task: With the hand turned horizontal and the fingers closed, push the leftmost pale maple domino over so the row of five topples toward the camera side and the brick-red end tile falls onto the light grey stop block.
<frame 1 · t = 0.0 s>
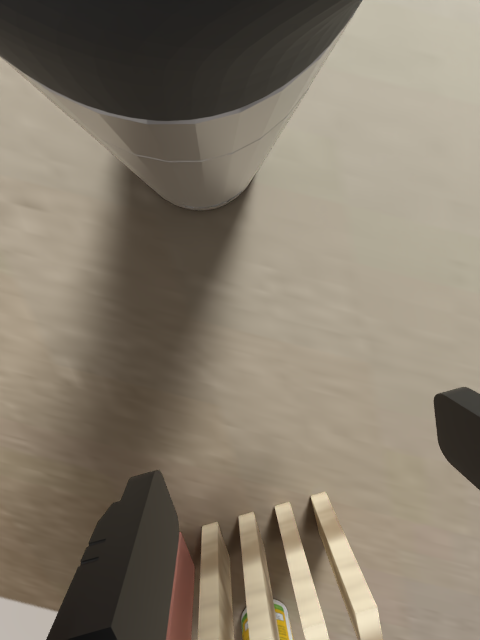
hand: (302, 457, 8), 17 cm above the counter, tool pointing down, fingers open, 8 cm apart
supplement bottle: (263, 611, 34), on the counter
domino 1: (322, 512, 31), on the counter
domino 4: (216, 542, 31), on the counter
domino 3: (251, 532, 31), on the counter
domino 2: (286, 522, 31), on the counter
domino 5: (180, 552, 31), on the counter
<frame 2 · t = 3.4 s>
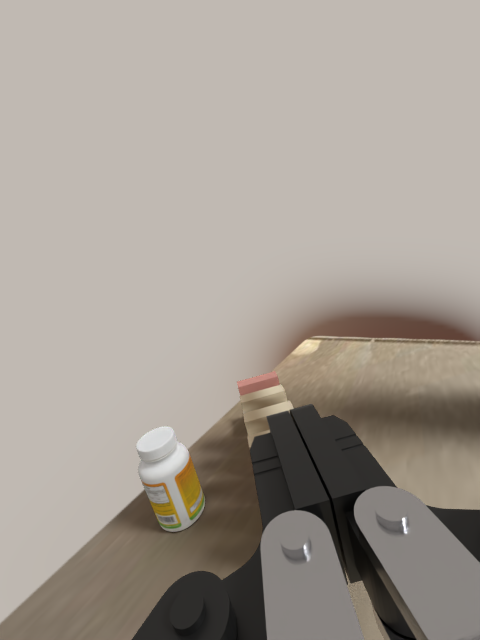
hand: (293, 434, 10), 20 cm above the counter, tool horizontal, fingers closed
supplement bottle: (183, 512, 33), on the counter
domino 4: (281, 465, 36), on the counter
domino 3: (288, 490, 32), on the counter
domino 5: (274, 445, 40), on the counter
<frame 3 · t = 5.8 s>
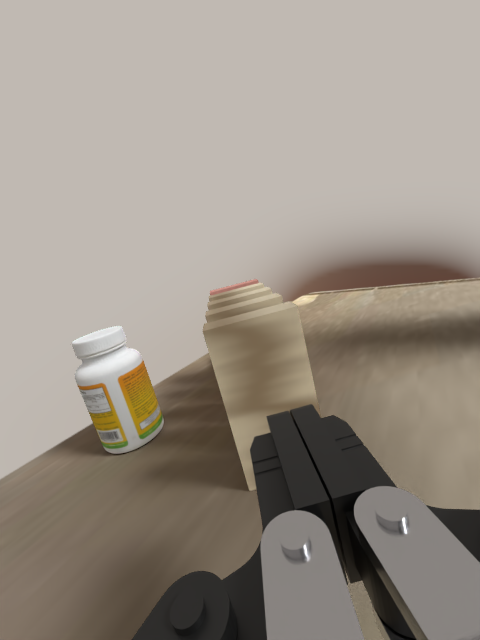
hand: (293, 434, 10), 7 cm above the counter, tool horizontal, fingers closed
supplement bottle: (136, 436, 27), on the counter
domino 1: (287, 470, 18), on the counter
domino 4: (260, 388, 29), on the counter
domino 3: (267, 407, 26), on the counter
domino 2: (275, 433, 22), on the counter
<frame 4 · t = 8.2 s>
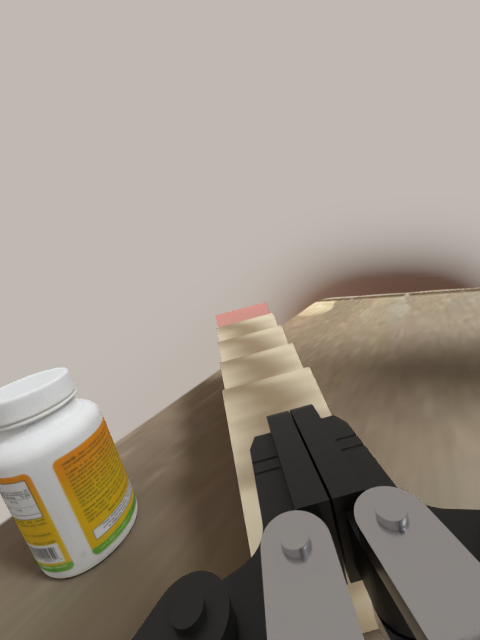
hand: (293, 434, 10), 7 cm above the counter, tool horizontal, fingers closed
supplement bottle: (95, 534, 18), on the counter
domino 1: (345, 637, 10), point 1 cm above the counter, tilted 60°, touching domino 2
domino 4: (278, 439, 20), point 1 cm above the counter, tilted 51°, touching domino 3, domino 5
domino 3: (291, 475, 17), point 1 cm above the counter, tilted 54°, touching domino 2, domino 4
domino 2: (310, 534, 13), point 1 cm above the counter, tilted 58°, touching domino 1, domino 3
domino 5: (269, 409, 23), point 1 cm above the counter, tilted 51°, touching domino 4, stop block
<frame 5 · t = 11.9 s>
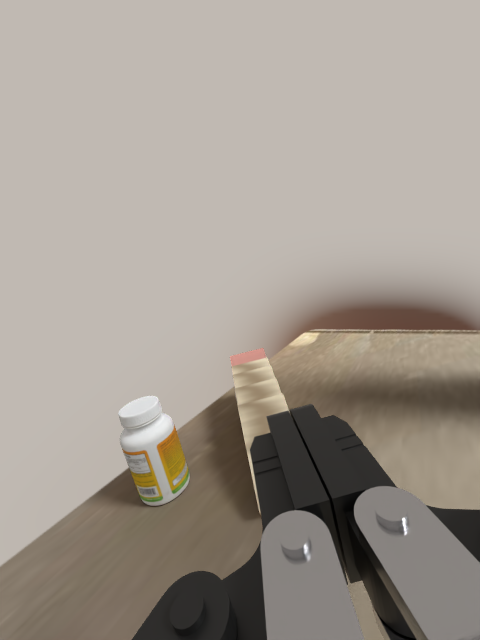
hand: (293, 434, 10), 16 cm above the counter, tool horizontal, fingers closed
supplement bottle: (166, 487, 32), on the counter
domino 1: (289, 507, 25), point 1 cm above the counter, tilted 58°, touching domino 2
domino 4: (268, 436, 35), point 1 cm above the counter, tilted 52°, touching domino 3, domino 5
domino 3: (273, 452, 32), point 1 cm above the counter, tilted 52°, touching domino 2, domino 4
domino 2: (280, 475, 29), point 1 cm above the counter, tilted 56°, touching domino 1, domino 3
domino 5: (264, 419, 38), point 1 cm above the counter, tilted 52°, touching domino 4, stop block
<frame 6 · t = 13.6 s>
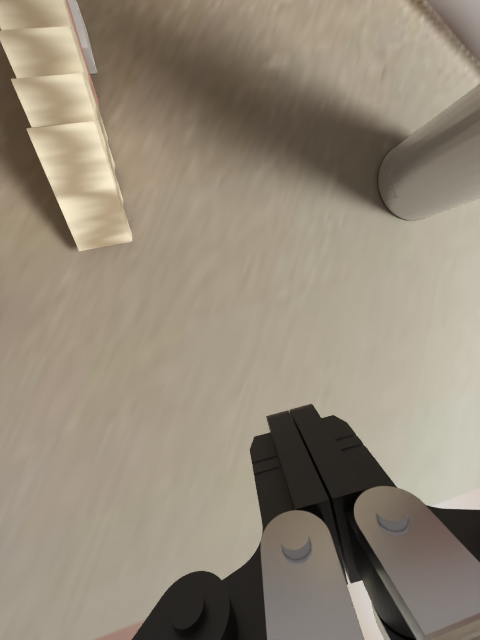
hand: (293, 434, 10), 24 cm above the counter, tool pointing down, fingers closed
stop block: (59, 54, 29), on the counter
domino 1: (106, 243, 30), point 1 cm above the counter, tilted 58°, touching domino 2
domino 4: (81, 144, 29), point 1 cm above the counter, tilted 51°, touching domino 3, domino 5
domino 3: (88, 171, 29), point 1 cm above the counter, tilted 51°, touching domino 2, domino 4
domino 2: (97, 206, 30), point 1 cm above the counter, tilted 55°, touching domino 1, domino 3
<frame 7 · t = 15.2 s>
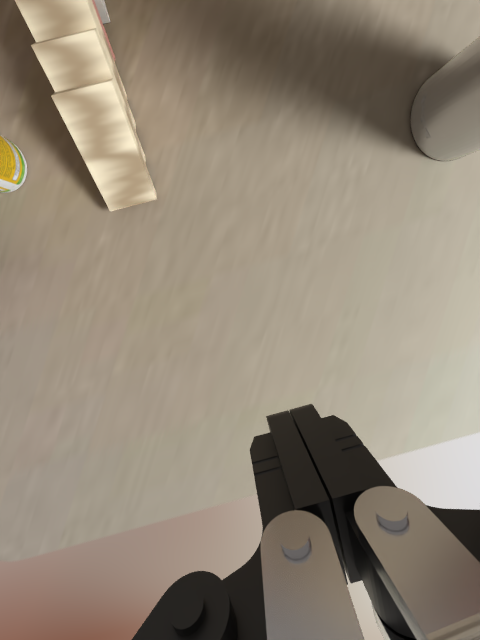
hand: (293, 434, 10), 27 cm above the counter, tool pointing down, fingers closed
supplement bottle: (2, 166, 31), on the counter
stop block: (72, 5, 28), on the counter
domino 1: (133, 202, 32), point 1 cm above the counter, tilted 57°, touching domino 2
domino 3: (111, 132, 30), point 1 cm above the counter, tilted 51°, touching domino 2, domino 4
domino 2: (122, 166, 31), point 1 cm above the counter, tilted 54°, touching domino 1, domino 3
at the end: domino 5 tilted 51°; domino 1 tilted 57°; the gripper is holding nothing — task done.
